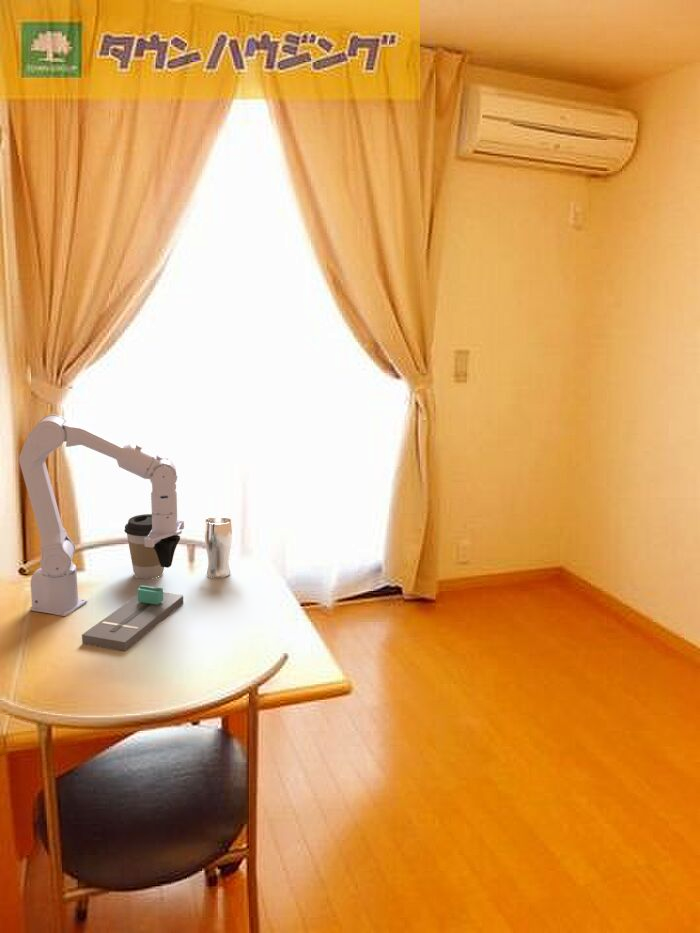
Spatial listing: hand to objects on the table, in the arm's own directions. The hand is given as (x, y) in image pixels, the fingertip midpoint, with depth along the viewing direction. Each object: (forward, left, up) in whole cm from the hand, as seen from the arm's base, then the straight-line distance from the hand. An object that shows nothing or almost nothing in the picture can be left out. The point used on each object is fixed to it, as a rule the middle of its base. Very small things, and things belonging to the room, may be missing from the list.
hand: (166, 566), depth 156 cm
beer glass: (+5, +18, -9) cm, 21 cm away
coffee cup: (-12, +12, -9) cm, 19 cm away
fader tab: (0, -7, -6) cm, 9 cm away
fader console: (0, -13, -8) cm, 15 cm away
